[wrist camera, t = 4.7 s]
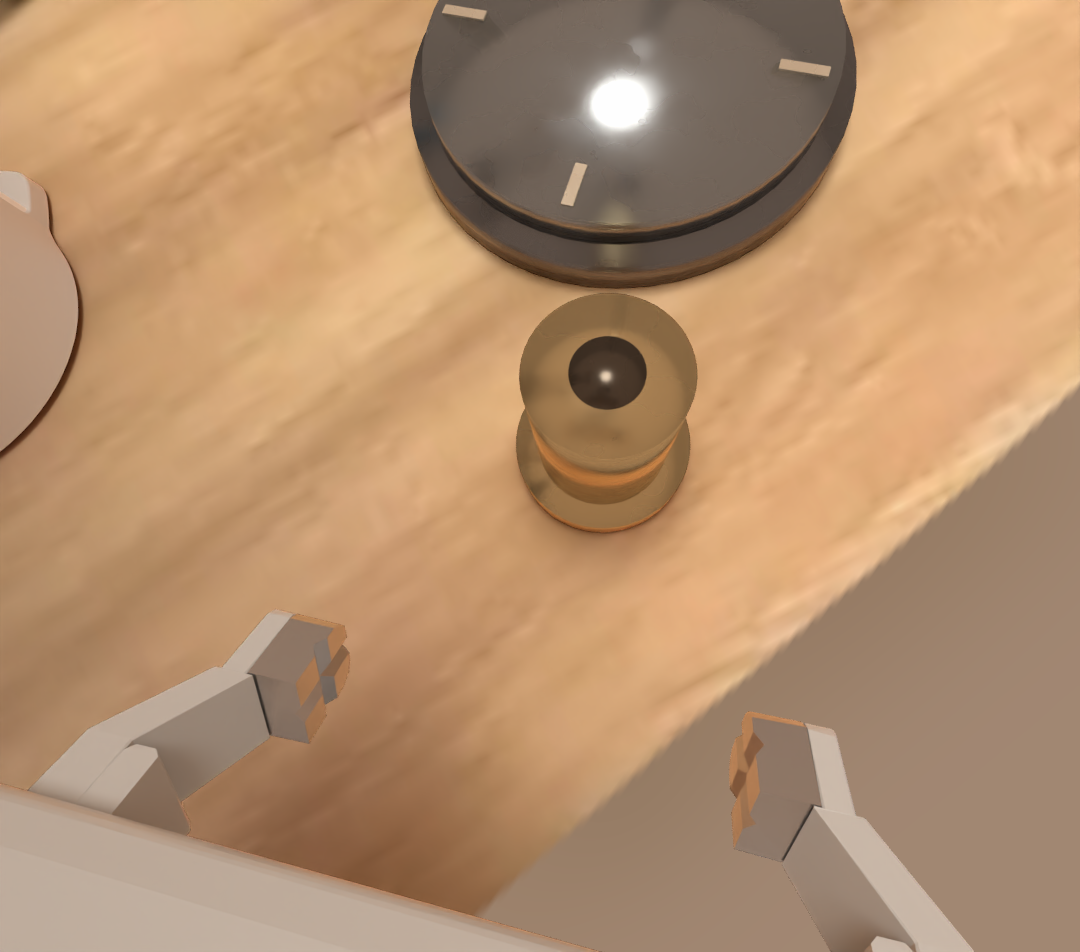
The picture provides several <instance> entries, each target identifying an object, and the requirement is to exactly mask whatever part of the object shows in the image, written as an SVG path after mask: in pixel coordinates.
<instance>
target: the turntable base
mask: <svg viewBox="0 0 1080 952" xmlns="http://www.w3.org/2000/svg"><path fill="white" fill-rule="evenodd" d="M843 16H844V14H843ZM844 22H845V28H846V54H845V60H844V66H843V71H842V76H841V79H840V82H839V85H838V88H837V91H836V93H835V96H834V99H833V101H832V104H831V106H830V108H829V110H828V113H827V115H826V117H825V119H824V122H823V124H822V126H821V128H820V130H819V132H818V134H817V136H816V137H815V139H814V141H813V143H812V145H811V147H810V148H809V150H808V151H807V152H806V154H805V155H804V156H803V158H802V159H801V160H800V162H799V163H798V164H797V166H796V167H795V168H794V169H793V170H792V171H791V172H790V173H789V174H788V175H787V177H786V178H785V179H784V180H783V181H782V182H781V183H780V184H779V185H778V186H777V187H775V188H774V189H773V190H772V191H770V192H769V193H768V194H766V195H765V196H764V197H762V198H761V199H760V200H759V201H757V202H756V203H755V204H753V205H751V206H750V207H748V208H746V209H744V210H743V211H741V212H739V213H738V214H736V215H734V216H733V217H731V218H729V219H726V220H724V221H722V222H720V223H717V224H715V225H713V226H710V227H708V228H706V229H703V230H700V231H696V232H693V233H690V234H687V235H683V236H680V237H677V238H671V239H666V240H660V241H655V242H649V243H636V244H621V245H619V244H597V243H587V242H581V241H575V240H569V239H564V238H560V237H557V236H553V235H550V234H546V233H543V232H540V231H537V230H535V229H532V228H530V227H528V226H526V225H523V224H521V223H519V222H516V221H514V220H513V219H511V218H509V217H508V216H506V215H504V214H503V213H501V212H499V211H498V210H496V209H494V208H493V207H492V206H490V205H489V204H488V203H487V202H485V201H484V200H483V199H482V198H481V197H479V196H478V195H477V194H476V193H475V192H474V191H473V190H472V189H471V188H470V187H469V186H468V185H467V184H466V183H465V182H464V181H463V179H462V178H461V177H460V176H459V175H458V173H457V172H456V170H455V169H454V167H453V166H452V164H451V163H450V161H449V160H448V158H447V156H446V154H445V152H444V150H443V148H442V146H441V143H440V141H439V139H438V136H437V133H436V130H435V127H434V124H433V121H432V118H431V115H430V112H429V109H428V105H427V102H426V98H425V95H424V88H423V80H422V52H423V46H424V41H425V36H426V33H425V35H424V37H423V40H422V43H421V45H420V48H419V51H418V54H417V56H416V59H415V64H414V69H413V74H412V79H411V92H410V109H411V118H412V127H413V130H414V134H415V138H416V141H417V145H418V149H419V151H420V154H421V156H422V159H423V162H424V164H425V167H426V170H427V172H428V175H429V177H430V179H431V181H432V183H433V186H434V188H435V190H436V192H437V194H438V196H439V198H440V199H441V201H442V202H443V204H444V205H445V207H446V208H447V210H448V211H449V213H450V214H451V215H452V217H453V218H454V219H455V220H456V221H457V222H458V223H459V224H460V225H461V226H462V228H463V229H464V230H465V231H466V232H467V233H468V234H469V235H471V236H472V237H473V238H474V239H475V240H477V241H478V242H479V243H480V244H481V245H483V246H484V247H485V248H486V249H488V250H489V251H491V252H493V253H494V254H496V255H498V256H499V257H501V258H502V259H504V260H506V261H507V262H509V263H511V264H514V265H516V266H518V267H520V268H522V269H525V270H527V271H529V272H531V273H534V274H537V275H540V276H544V277H547V278H550V279H553V280H557V281H560V282H565V283H571V284H577V285H583V286H588V287H606V288H630V287H646V286H653V285H659V284H664V283H670V282H675V281H680V280H683V279H687V278H690V277H693V276H696V275H700V274H703V273H706V272H709V271H711V270H714V269H716V268H718V267H720V266H723V265H725V264H727V263H729V262H732V261H734V260H736V259H738V258H739V257H741V256H743V255H744V254H746V253H748V252H749V251H751V250H753V249H754V248H756V247H758V246H760V245H761V244H762V243H763V242H765V241H766V240H767V239H769V238H770V237H771V236H772V235H774V234H775V233H776V232H778V231H779V230H780V229H781V228H783V227H784V226H785V225H786V224H787V223H788V222H789V221H790V220H791V218H792V217H793V216H794V215H795V214H796V213H797V212H798V211H799V210H800V209H801V208H802V207H803V206H804V204H805V203H806V202H807V200H808V199H809V198H810V196H811V195H812V193H813V192H814V191H815V189H816V188H817V187H818V185H819V183H820V181H821V179H822V177H823V175H824V174H825V172H826V170H827V168H828V166H829V164H830V162H831V160H832V158H833V156H834V154H835V152H836V150H837V148H838V146H839V144H840V142H841V140H842V138H843V136H844V133H845V130H846V127H847V125H848V122H849V119H850V116H851V113H852V109H853V103H854V97H855V91H856V57H855V51H854V45H853V40H852V36H851V33H850V30H849V27H848V24H847V22H846V19H845V16H844Z"/></svg>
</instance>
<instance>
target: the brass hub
mask: <svg viewBox="0 0 1080 952" xmlns="http://www.w3.org/2000/svg"><path fill="white" fill-rule="evenodd" d="M519 381H520V390H521V394H522V398H523V402H524V405H525V409H524V412H523V414H522V416H521V419H520V422H519V425H518V431H517V436H516V452H517V460H518V464H519V468H520V471H521V473H522V476H523V478H524V481H525V483H526V485H527V487H528V489H529V490H530V492H531V494H532V496H533V497H534V498H535V500H536V501H537V502H538V504H539V505H540V506H541V507H542V508H543V509H544V510H545V511H546V512H548V513H549V514H550V515H552V516H553V517H554V518H556V519H557V520H559V521H561V522H562V523H564V524H567V525H569V526H571V527H574V528H577V529H581V530H584V531H591V532H614V531H620V530H624V529H628V528H631V527H634V526H636V525H639V524H641V523H642V522H644V521H646V520H648V519H649V518H651V517H652V516H653V515H655V514H656V513H657V512H659V511H660V510H661V509H662V508H663V507H664V506H665V505H666V503H667V502H668V501H669V500H670V498H671V497H672V496H673V494H674V493H675V491H676V490H677V488H678V486H679V485H680V483H681V481H682V479H683V477H684V474H685V472H686V469H687V465H688V461H689V454H690V435H689V429H688V424H687V421H686V416H687V413H688V411H689V409H690V407H691V404H692V402H693V399H694V395H695V392H696V386H697V364H696V359H695V355H694V352H693V349H692V346H691V344H690V342H689V340H688V338H687V336H686V334H685V333H684V331H683V330H682V328H681V327H680V326H679V325H678V323H677V322H676V321H675V320H674V319H673V318H672V317H671V316H670V315H668V314H667V313H666V312H665V311H663V310H662V309H660V308H659V307H657V306H656V305H654V304H652V303H650V302H648V301H646V300H643V299H640V298H637V297H634V296H630V295H625V294H616V293H601V294H593V295H588V296H584V297H580V298H578V299H575V300H572V301H570V302H568V303H566V304H564V305H562V306H560V307H559V308H557V309H556V310H554V311H553V312H552V313H550V314H549V315H548V316H547V317H546V318H545V319H544V320H543V321H542V322H541V323H540V324H539V325H538V326H537V328H536V329H535V330H534V332H533V333H532V335H531V336H530V338H529V340H528V342H527V344H526V346H525V349H524V352H523V355H522V358H521V364H520V373H519Z"/></svg>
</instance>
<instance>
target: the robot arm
mask: <svg viewBox="0 0 1080 952" xmlns="http://www.w3.org/2000/svg"><path fill="white" fill-rule="evenodd" d="M77 322H78V297H77V290H76V285H75V281H74V277H73V274H72V271H71V269H70V266H69V264H68V262H67V260H66V258H65V257H64V255H63V254H62V252H61V251H60V249H59V247H58V246H57V244H56V243H55V241H54V239H53V237H52V235H51V233H50V230H49V211H48V201H47V196H46V193H45V191H44V189H43V188H42V187H41V186H40V185H39V184H37V183H36V182H34V181H33V180H31V179H29V178H28V177H26V176H25V175H23V174H21V173H19V172H14V171H0V451H1V450H3V449H4V448H5V447H6V446H8V445H9V444H10V443H11V442H12V441H13V440H14V439H15V438H16V437H17V436H19V435H20V434H21V433H22V432H23V431H24V430H25V428H26V427H27V426H28V425H29V424H30V423H31V422H32V421H33V419H34V418H35V417H36V416H37V415H38V413H39V412H40V411H41V409H42V408H43V407H44V405H45V404H46V402H47V401H48V399H49V398H50V396H51V395H52V393H53V391H54V390H55V388H56V386H57V384H58V383H59V381H60V379H61V376H62V374H63V372H64V370H65V368H66V365H67V363H68V360H69V357H70V354H71V351H72V348H73V344H74V340H75V335H76V330H77ZM346 638H347V635H346V630H345V626H344V625H340V624H337V623H332V622H328V621H324V620H320V619H316V618H312V617H308V616H304V615H300V614H295V613H291V612H286V611H282V610H278V609H275V610H273V611H271V612H269V613H268V614H267V615H266V616H265V617H264V618H263V619H262V621H261V622H260V623H259V624H258V625H257V626H256V628H255V629H254V630H253V631H252V632H251V633H250V635H249V636H248V637H247V638H246V639H245V641H244V642H243V643H242V644H241V645H240V646H239V648H238V649H237V650H236V651H235V652H234V654H233V655H232V656H231V657H230V658H229V659H228V661H227V662H226V663H225V664H224V665H223V666H222V668H221V667H216V666H215V667H213V668H211V669H208V670H206V671H204V672H202V673H200V674H198V675H196V676H194V677H192V678H190V679H188V680H186V681H184V682H182V683H180V684H178V685H176V686H174V687H172V688H170V689H168V690H166V691H164V692H162V693H160V694H158V695H156V696H154V697H152V698H150V699H148V700H146V701H143V702H141V703H139V704H137V705H135V706H133V707H131V708H129V709H127V710H125V711H123V712H121V713H119V714H117V715H115V716H113V717H111V718H109V719H107V720H105V721H103V722H101V723H99V724H97V725H95V726H93V727H91V728H89V729H87V730H86V731H85V732H84V733H83V735H82V736H81V737H80V738H79V739H78V740H77V741H76V742H75V743H74V744H73V745H72V746H71V747H70V748H69V749H68V750H67V751H66V752H65V753H64V754H63V755H62V756H61V757H60V758H59V759H58V760H57V761H56V762H55V763H54V764H53V765H52V766H51V767H50V768H49V769H48V770H47V771H46V772H45V773H44V774H43V775H42V776H41V777H40V778H39V779H38V780H37V781H36V782H35V783H34V784H33V785H32V786H31V787H30V789H29V790H28V791H26V790H23V789H19V788H16V787H12V786H8V785H5V784H1V783H0V952H600V951H597V950H593V949H589V948H586V947H582V946H579V945H575V944H572V943H568V942H564V941H561V940H557V939H554V938H550V937H547V936H543V935H540V934H536V933H532V932H529V931H525V930H522V929H518V928H514V927H511V926H508V925H504V924H501V923H497V922H493V921H490V920H486V919H483V918H479V917H476V916H472V915H469V914H465V913H461V912H458V911H454V910H451V909H447V908H444V907H440V906H436V905H433V904H429V903H426V902H422V901H419V900H415V899H412V898H408V897H404V896H401V895H397V894H394V893H390V892H387V891H383V890H379V889H376V888H372V887H369V886H365V885H362V884H358V883H355V882H351V881H347V880H344V879H340V878H337V877H333V876H330V875H326V874H322V873H319V872H315V871H312V870H308V869H305V868H301V867H297V866H294V865H290V864H287V863H283V862H280V861H276V860H272V859H269V858H265V857H262V856H258V855H255V854H251V853H247V852H244V851H240V850H237V849H233V848H230V847H226V846H222V845H219V844H215V843H212V842H208V841H205V840H201V839H198V838H194V837H190V836H187V834H188V833H189V831H190V830H191V828H190V821H189V819H188V817H187V814H186V812H185V810H184V808H183V806H182V804H181V801H183V800H184V799H186V798H187V797H188V796H190V795H191V794H193V793H194V792H195V791H197V790H198V789H200V788H201V787H202V786H204V785H205V784H206V783H208V782H209V781H211V780H212V779H213V778H215V777H216V776H218V775H219V774H220V773H222V772H223V771H224V770H226V769H227V768H229V767H230V766H231V765H233V764H234V763H236V762H237V761H238V760H240V759H241V758H243V757H244V756H245V755H247V754H248V753H249V752H251V751H252V750H254V749H255V748H256V747H258V746H259V745H261V744H262V743H263V742H265V741H266V740H268V739H269V738H270V735H271V736H276V737H281V738H285V739H290V740H295V741H299V742H304V743H308V744H309V743H310V742H311V740H312V739H313V737H314V735H315V734H316V732H317V730H318V729H319V727H320V725H321V724H322V722H323V720H324V719H325V717H326V716H327V715H326V708H325V704H327V703H329V702H330V701H332V700H334V699H335V698H337V697H338V696H339V694H340V692H341V690H342V689H343V687H344V685H345V682H346V679H347V676H348V673H349V668H350V655H349V651H348V650H347V649H346V648H345V647H344V646H343V645H342V644H343V642H344V641H345V639H346ZM729 781H730V790H731V791H732V793H733V794H734V796H735V797H736V799H737V800H736V802H735V805H734V807H733V810H732V812H731V814H732V829H733V844H734V849H736V850H740V851H743V852H747V853H751V854H754V855H758V856H761V857H765V858H769V859H772V860H776V861H780V862H783V863H782V866H783V868H784V870H785V871H786V873H787V875H788V877H789V879H790V880H791V882H792V884H793V886H794V887H795V889H796V891H797V893H798V894H799V896H800V898H801V900H802V901H803V903H804V905H805V907H806V909H807V910H808V912H809V914H810V916H811V918H812V919H813V921H814V923H815V925H816V926H817V928H818V930H819V932H820V933H821V935H822V937H823V939H824V941H825V942H826V944H827V946H828V947H829V949H830V951H831V952H974V951H973V950H972V949H971V947H970V946H969V945H968V943H967V942H966V941H965V940H964V939H963V937H962V936H961V935H960V934H959V933H958V931H957V930H956V929H955V928H954V926H953V925H952V924H951V923H950V921H949V920H948V919H947V918H946V917H945V915H944V914H943V913H942V912H941V910H940V909H939V908H938V907H937V906H936V904H935V903H934V902H933V901H932V900H931V898H930V897H929V896H928V895H927V893H926V892H925V891H924V890H923V888H922V887H921V886H920V885H919V884H918V883H917V881H916V880H915V879H914V877H913V876H912V875H911V874H910V873H909V871H908V870H907V869H906V868H905V866H904V865H903V864H902V863H901V862H900V860H899V859H898V858H897V857H896V855H895V854H894V853H893V852H892V851H891V850H890V848H889V847H888V846H887V844H886V843H885V842H884V841H883V840H882V838H881V837H880V836H879V835H878V834H877V832H876V831H875V830H874V829H873V827H872V826H871V825H870V824H869V823H868V821H867V820H866V819H865V818H863V817H859V816H856V813H855V809H854V805H853V801H852V797H851V793H850V789H849V785H848V781H847V777H846V773H845V769H844V765H843V760H842V756H841V752H840V748H839V744H838V740H837V736H836V734H835V732H834V731H833V730H832V729H829V728H825V727H821V726H815V725H811V724H807V723H802V722H799V721H794V720H790V719H785V718H780V717H775V716H770V715H764V714H760V713H755V712H750V711H748V712H747V713H746V714H745V716H744V718H743V721H742V735H741V736H739V737H737V738H736V739H735V742H734V745H733V748H732V752H731V758H730V768H729Z"/></svg>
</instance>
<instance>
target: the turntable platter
mask: <svg viewBox="0 0 1080 952" xmlns="http://www.w3.org/2000/svg"><path fill="white" fill-rule="evenodd" d="M845 54H846V28H845V22H844V16H843V10H842V6H841V3H840V0H439V1H438V3H437V5H436V7H435V8H434V11H433V14H432V17H431V19H430V22H429V25H428V28H427V31H426V36H425V41H424V46H423V52H422V80H423V88H424V95H425V98H426V102H427V105H428V109H429V112H430V115H431V118H432V121H433V124H434V127H435V130H436V133H437V136H438V139H439V141H440V143H441V146H442V148H443V150H444V152H445V154H446V156H447V158H448V160H449V161H450V163H451V164H452V166H453V167H454V169H455V170H456V172H457V173H458V175H459V176H460V177H461V178H462V179H463V181H464V182H465V183H466V184H467V185H468V186H469V187H470V188H471V189H472V190H473V191H474V192H475V193H476V194H477V195H478V196H479V197H481V198H482V199H483V200H484V201H485V202H487V203H488V204H489V205H490V206H492V207H493V208H494V209H496V210H498V211H499V212H501V213H503V214H504V215H506V216H508V217H509V218H511V219H513V220H514V221H516V222H519V223H521V224H523V225H526V226H528V227H530V228H532V229H535V230H537V231H540V232H543V233H546V234H550V235H553V236H557V237H560V238H564V239H569V240H575V241H581V242H587V243H597V244H619V245H621V244H636V243H649V242H655V241H660V240H666V239H671V238H677V237H680V236H683V235H687V234H690V233H693V232H696V231H700V230H703V229H706V228H708V227H710V226H713V225H715V224H717V223H720V222H722V221H724V220H726V219H729V218H731V217H733V216H734V215H736V214H738V213H739V212H741V211H743V210H744V209H746V208H748V207H750V206H751V205H753V204H755V203H756V202H757V201H759V200H760V199H761V198H762V197H764V196H765V195H766V194H768V193H769V192H770V191H772V190H773V189H774V188H775V187H777V186H778V185H779V184H780V183H781V182H782V181H783V180H784V179H785V178H786V177H787V175H788V174H789V173H790V172H791V171H792V170H793V169H794V168H795V167H796V166H797V164H798V163H799V162H800V160H801V159H802V158H803V156H804V155H805V154H806V152H807V151H808V150H809V148H810V147H811V145H812V143H813V141H814V139H815V137H816V136H817V134H818V132H819V130H820V128H821V126H822V124H823V122H824V119H825V117H826V115H827V113H828V110H829V108H830V106H831V104H832V101H833V99H834V96H835V93H836V91H837V88H838V85H839V82H840V79H841V76H842V71H843V66H844V60H845Z"/></svg>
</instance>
